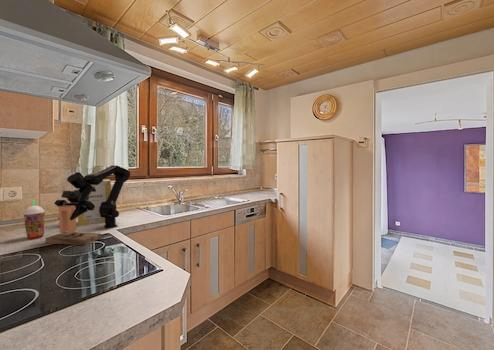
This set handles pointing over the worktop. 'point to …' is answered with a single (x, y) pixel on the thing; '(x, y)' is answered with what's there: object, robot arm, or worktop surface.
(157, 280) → the worktop surface
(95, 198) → the pasta box
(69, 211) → the clip
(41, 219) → the smoothie
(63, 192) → the robot arm
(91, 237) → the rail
